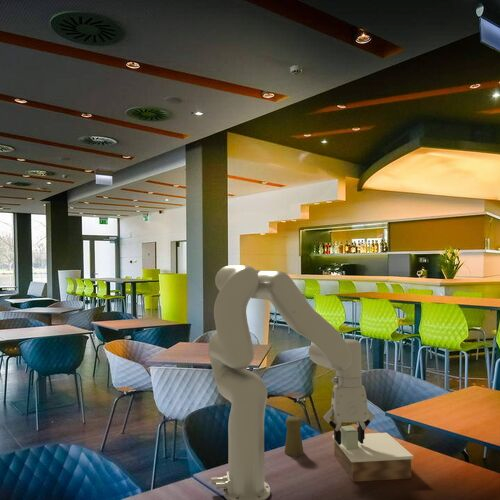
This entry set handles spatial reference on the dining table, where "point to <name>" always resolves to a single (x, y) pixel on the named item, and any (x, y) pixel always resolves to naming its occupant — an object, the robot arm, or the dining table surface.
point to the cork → (293, 437)
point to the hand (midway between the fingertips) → (349, 441)
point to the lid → (371, 446)
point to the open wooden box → (373, 468)
